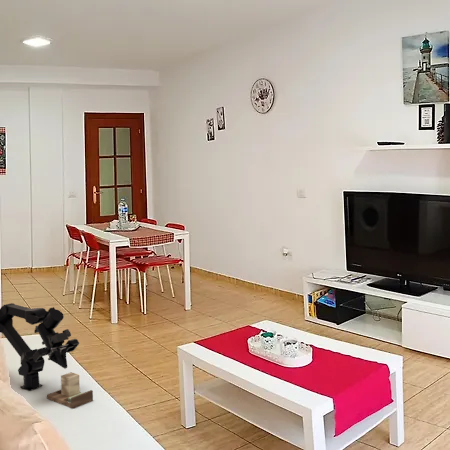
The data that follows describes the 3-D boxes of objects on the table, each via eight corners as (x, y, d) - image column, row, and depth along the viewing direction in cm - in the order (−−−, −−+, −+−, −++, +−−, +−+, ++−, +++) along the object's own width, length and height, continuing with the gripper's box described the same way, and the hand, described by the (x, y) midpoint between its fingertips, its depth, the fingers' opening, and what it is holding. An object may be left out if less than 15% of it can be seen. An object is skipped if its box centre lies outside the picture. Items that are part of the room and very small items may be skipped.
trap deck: (46, 398, 229) (46, 388, 229) (66, 391, 237) (66, 381, 236) (73, 408, 219) (72, 398, 219) (92, 400, 227) (92, 390, 226)
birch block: (61, 393, 230) (60, 375, 229) (71, 390, 234) (71, 372, 233) (69, 396, 227) (68, 378, 226) (79, 392, 231) (79, 374, 230)
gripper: (36, 329, 221) (54, 363, 216) (76, 319, 236) (94, 350, 230) (25, 345, 227) (42, 378, 221) (64, 334, 241) (81, 365, 236)
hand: (66, 367), depth 227 cm, fingers closed
